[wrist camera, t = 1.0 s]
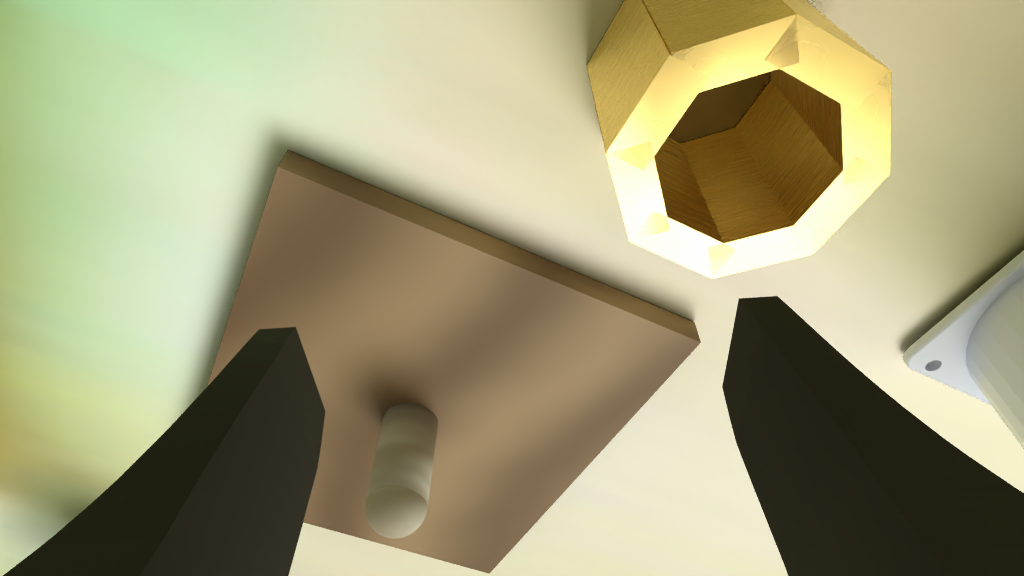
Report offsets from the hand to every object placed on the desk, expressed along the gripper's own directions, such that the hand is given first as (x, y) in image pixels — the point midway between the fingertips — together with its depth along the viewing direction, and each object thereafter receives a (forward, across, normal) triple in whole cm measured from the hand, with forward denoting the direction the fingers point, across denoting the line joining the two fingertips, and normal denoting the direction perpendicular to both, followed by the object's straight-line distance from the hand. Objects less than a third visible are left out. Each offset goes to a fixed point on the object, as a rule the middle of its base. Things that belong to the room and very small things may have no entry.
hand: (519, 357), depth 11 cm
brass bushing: (+9, -5, -1) cm, 10 cm away
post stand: (+9, +4, +11) cm, 15 cm away
